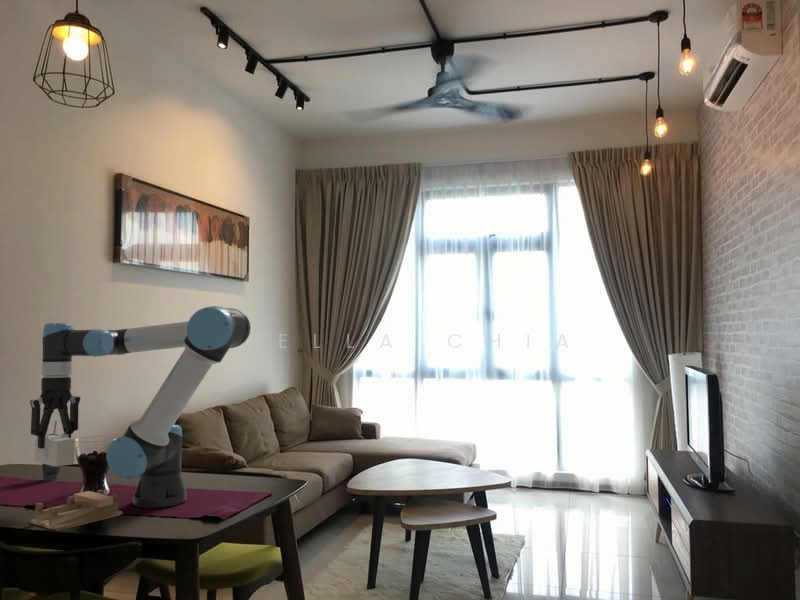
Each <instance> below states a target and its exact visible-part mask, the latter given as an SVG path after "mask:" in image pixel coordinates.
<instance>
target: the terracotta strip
mask: <svg viewBox="0 0 800 600" xmlns="http://www.w3.org/2000/svg"><path fill="white" fill-rule="evenodd" d="M72 496H73V497H75V502H78V503H82V500H89V506H93V507H97V508H100V507H104V506H108V505H112V504H113V497H112V496H110V495H107V494H104V495H103V494H99V493H97V492H95V491H91V490H87V491H81V492H78V493H74V494H73V495H72Z"/></svg>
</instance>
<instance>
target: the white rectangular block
mask: <svg viewBox="0 0 800 600" xmlns="http://www.w3.org/2000/svg"><path fill="white" fill-rule="evenodd" d="M46 436H47V435H46ZM47 437H49V440H48V460H40V450H41V449H40V448H38V437H37V436H35V438H34V463H39V464H41V465H42V464H46V465H51V466H55V467H57V466H60V467H62V466H69V465H73V464H75V443H76V441H75V438H72V437H71V438H67V437H61V435H59V436H55V435H50V436H47Z"/></svg>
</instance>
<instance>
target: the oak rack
mask: <svg viewBox="0 0 800 600" xmlns="http://www.w3.org/2000/svg"><path fill="white" fill-rule="evenodd" d="M104 491H105V490H103V489H97V490H96V493H99V494H103V495H105V492H104ZM110 495H111V496H112V497H113V504H112V505H108V506H104V507H100V508H97V507H93V506H89V500H82V503H78V502H75V497H73V495H70V496H67V497H66V498H67V499H66V504H63V505H57V506H52V507H49V508H45V509H44V503H43V502H37V503H36V502H35V508H34V511H35V512H34V518H32V519H30V524H34V525H37V526H38V527H39V526H40V527H42V526H43V528H46V529H50V530H52V529H53V531H55V530H56V532H58V531H59V530H60V531H62V530H67V529H71V528H74V527H79V526H83V525H88V524H90V523H94V522H99V521H102V520H107V519H110V518H115V517H118V516H121V514H122V515H124V514H123V511H121V510H119V493H115V492H114V493H111V494H110ZM60 531H59V532H60Z"/></svg>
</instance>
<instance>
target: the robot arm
mask: <svg viewBox="0 0 800 600" xmlns="http://www.w3.org/2000/svg"><path fill="white" fill-rule="evenodd" d="M42 333H43V334H42V338H41V340H42V362H41V365H42V366H41V375H42V376H43V377H42V378H41V388H40V389H41V394H40V395H39V398H36V399H30V401H29V404H30V408H31V418H30V419H31V420H30V421H31V422H30V434H31V435H32V436H35V437H38V448H40V449H41V450H40V460H48V440H49V437H47V432H48V430H49V425H50V421H51V418H52V414H53V413H54V412H55V410H57V411H58V412H59V418H60V421H61V422H60V423H61V426H62V430H63V433H60V436H61V437H67V438H72V434H73V433H74V432H75V431H78V430H79V405H80V401H81V397H80V396H75V395H72V393H71V389H72V377H71V375H72V362H73V361H72V359H73V358H72V357H75V356H76V357H79V356H80V357H94V358H95V357H104V356H113V355H116V356H121V355H122V356H124V355H126V354H133V353H141V352H149V351H151V352H152V351H160V350H169V349H178V348H184V349H183V351H182V353H181V355H180V356H179V358H178V359H177V361H176V363H175V364H174V366H173V367H172V369H171V370H170V372H169V373H168V375H167V377H166V378H165V380H164V381H163V383H162V384H161V385H160V388H159V389H158V391H156V394H155V395H154V396H153V399H152V400H151V402H150V403H149V404H148V407H147V408H146V409H145V411H144V412H143V414H142V416H141V417H140V419H136V420H132V421H131V423H130V424H129V426H128V427H127V429H126V430H125V432H124V433H123V435H122V436H119V437H117V438H115V439H114V440H113V441H111V443H110V444H109V445H108V446H107V450H106V453H105V455H106V457H105V458H106V461H107V467H108V468H109V470H110V471H111V472H112V474H114V475H115V476H116V477H118V478H121V479H124V480H130V479H131V480H132V479H137V478H138V480H137V481H138V482H137V485H136V488H135V489H134V493H133V496H132V505H133V506H134V505H135V507H137V506H138V507H137V508H142V507H144V508H145V509H159V508H158V507H161V508H167V506H169V507H172V506H177V504H178V505H180V503H181V504H183V503H185V502H186V501H187V500H186V499H188V498H187V496H188V495H187V494H188V493H187V489H186V486H185V482H184V480H183V476H182V455H183V431H182V430H183V429H182V426H180V425H179V424H176V422H177V420H178V419H179V417H180V416H181V414H182V413H183V411H184V409H185V408H186V406H187V405H188V403H189V401H190V400H191V399H192V397H193V395H195V392H196V391H197V389H198V388H199V386H200V384H201V383H202V382H203V380H204V378H205V377H206V375H207V373H208V372H209V371H210V369H211V368H212V365H215V364H219V363H221V362H222V360H223V359H224V358H225V356H226V354H227V353H228V351H229V349H234V348H237V347H240V346H241V345H243V344H244V343H245V342H246V341H247V340H248V338H249V336H250V333H251V323H250V320H249V318H248V317H247V315H246V314H245V313H244V312H243V311H241V310H239V309H237V308H230V307H223V306H217V305H212V306H206V307H203V308H200V309H198V310H197V311H195V312H194V313H193V314H192V316H191V317H190V318H189V320H188V321H182V322H181V321H180V322H172V323H164V324H157V325H147V326H139V327H131V328H130V327H129V328H122V329H110V330H109V329H96V328H95V329H74V328H73V324H72V323H70V322H69V323H68V322H58V323H57V322H48V323H46V324H44V326H43V332H42ZM68 403H69V408H68ZM42 404H43V405H44V406H43V408H42V411H43V412H42V416H41V406H42ZM68 411H69V412H68ZM184 501H185V502H184ZM182 502H183V503H182Z"/></svg>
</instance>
